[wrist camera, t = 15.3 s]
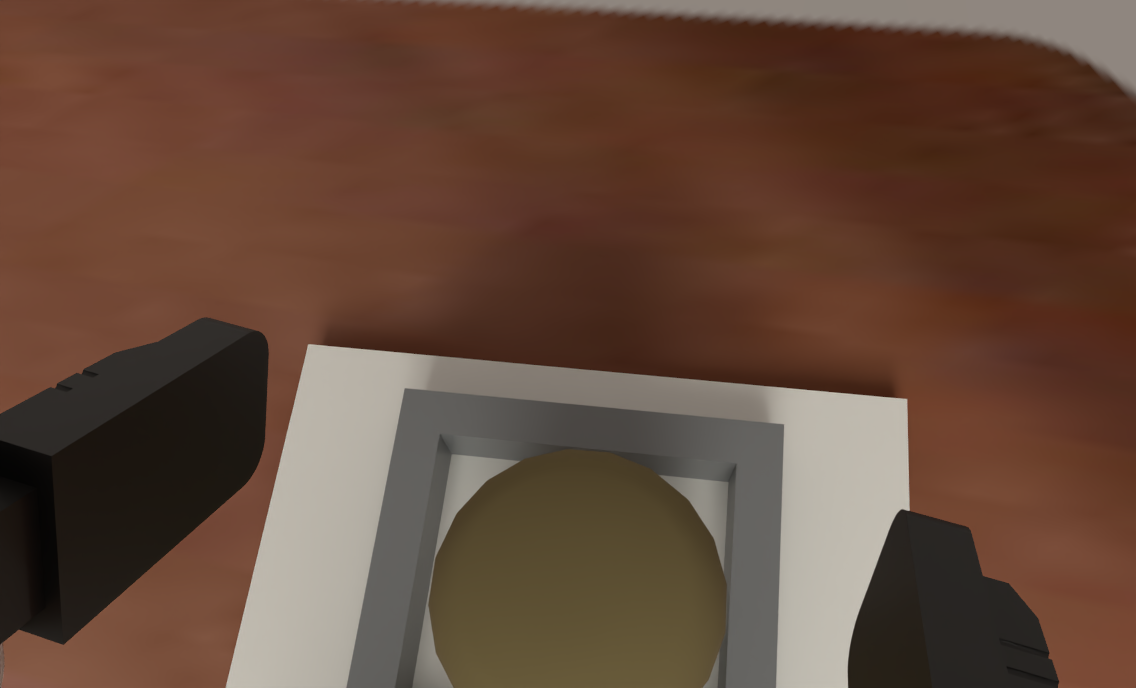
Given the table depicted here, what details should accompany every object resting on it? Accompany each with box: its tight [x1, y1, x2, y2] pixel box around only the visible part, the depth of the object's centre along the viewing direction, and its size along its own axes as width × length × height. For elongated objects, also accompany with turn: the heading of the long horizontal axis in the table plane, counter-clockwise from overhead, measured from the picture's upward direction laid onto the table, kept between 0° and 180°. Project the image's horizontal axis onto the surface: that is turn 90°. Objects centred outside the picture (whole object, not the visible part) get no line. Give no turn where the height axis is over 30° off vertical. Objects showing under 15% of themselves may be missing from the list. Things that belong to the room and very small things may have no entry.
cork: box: [428, 449, 727, 688], centre depth 20 cm, size 6×6×11 cm
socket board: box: [226, 344, 909, 688], centre depth 25 cm, size 18×14×3 cm
